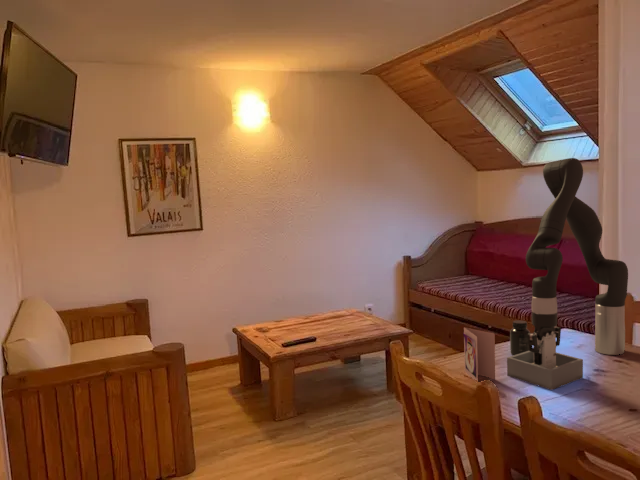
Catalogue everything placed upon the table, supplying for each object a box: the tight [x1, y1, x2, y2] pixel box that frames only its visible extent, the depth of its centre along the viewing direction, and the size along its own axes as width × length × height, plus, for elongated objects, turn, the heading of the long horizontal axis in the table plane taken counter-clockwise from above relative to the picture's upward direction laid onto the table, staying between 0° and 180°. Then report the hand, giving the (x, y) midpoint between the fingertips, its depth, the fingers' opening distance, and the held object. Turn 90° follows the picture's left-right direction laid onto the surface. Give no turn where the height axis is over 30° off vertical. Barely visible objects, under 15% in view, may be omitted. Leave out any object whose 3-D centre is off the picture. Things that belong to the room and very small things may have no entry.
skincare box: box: [534, 334, 557, 369], centre depth 171 cm, size 6×4×12 cm
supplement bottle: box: [509, 319, 531, 356], centre depth 194 cm, size 7×7×12 cm
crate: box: [506, 351, 584, 391], centre depth 172 cm, size 16×16×6 cm
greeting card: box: [462, 327, 496, 382], centre depth 174 cm, size 11×7×15 cm, turn 5°
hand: (544, 361), depth 172 cm, fingers closed on skincare box, 6 cm apart
